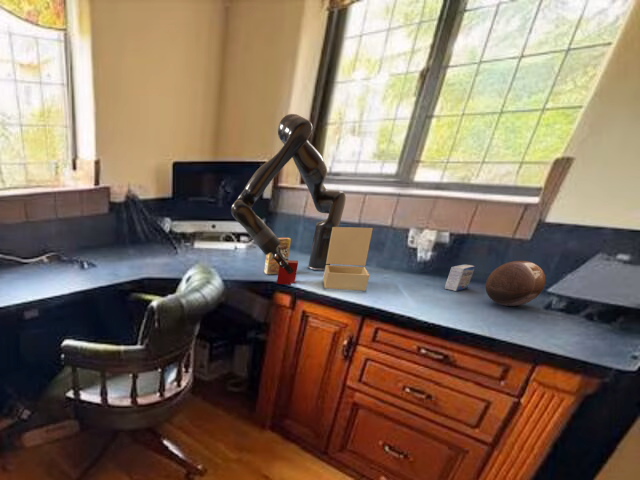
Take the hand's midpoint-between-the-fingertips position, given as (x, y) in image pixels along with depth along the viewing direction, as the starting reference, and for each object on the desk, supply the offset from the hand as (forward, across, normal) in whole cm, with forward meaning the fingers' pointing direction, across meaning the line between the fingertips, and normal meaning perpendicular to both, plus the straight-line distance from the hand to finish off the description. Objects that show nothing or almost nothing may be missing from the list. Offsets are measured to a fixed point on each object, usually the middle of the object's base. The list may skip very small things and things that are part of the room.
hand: (291, 270), depth 173 cm
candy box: (-1, +15, +8) cm, 17 cm away
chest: (+18, 0, -11) cm, 21 cm away
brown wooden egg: (+54, -10, -47) cm, 72 cm away
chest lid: (+8, +8, -21) cm, 24 cm away
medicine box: (+47, +8, -40) cm, 62 cm away
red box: (+3, 0, +5) cm, 6 cm away
